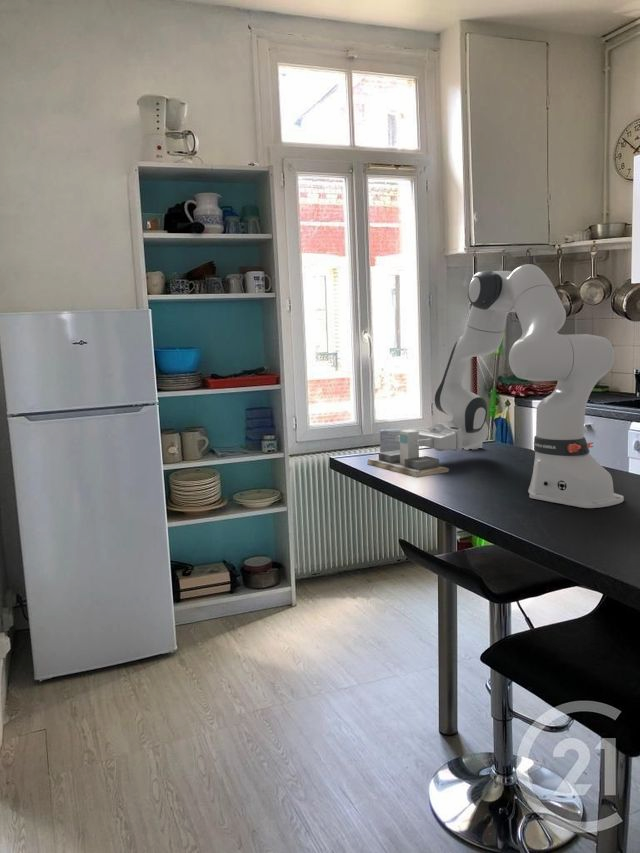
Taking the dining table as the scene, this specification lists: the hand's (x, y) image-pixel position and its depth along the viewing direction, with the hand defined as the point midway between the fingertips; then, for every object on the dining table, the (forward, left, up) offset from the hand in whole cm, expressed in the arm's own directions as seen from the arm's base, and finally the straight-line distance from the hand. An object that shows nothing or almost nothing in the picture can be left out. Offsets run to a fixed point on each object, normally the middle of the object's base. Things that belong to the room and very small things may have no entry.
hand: (406, 441), depth 208 cm
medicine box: (+18, -8, -8) cm, 21 cm away
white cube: (+14, -38, -8) cm, 41 cm away
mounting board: (0, 0, -8) cm, 8 cm away
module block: (0, -1, -7) cm, 7 cm away
